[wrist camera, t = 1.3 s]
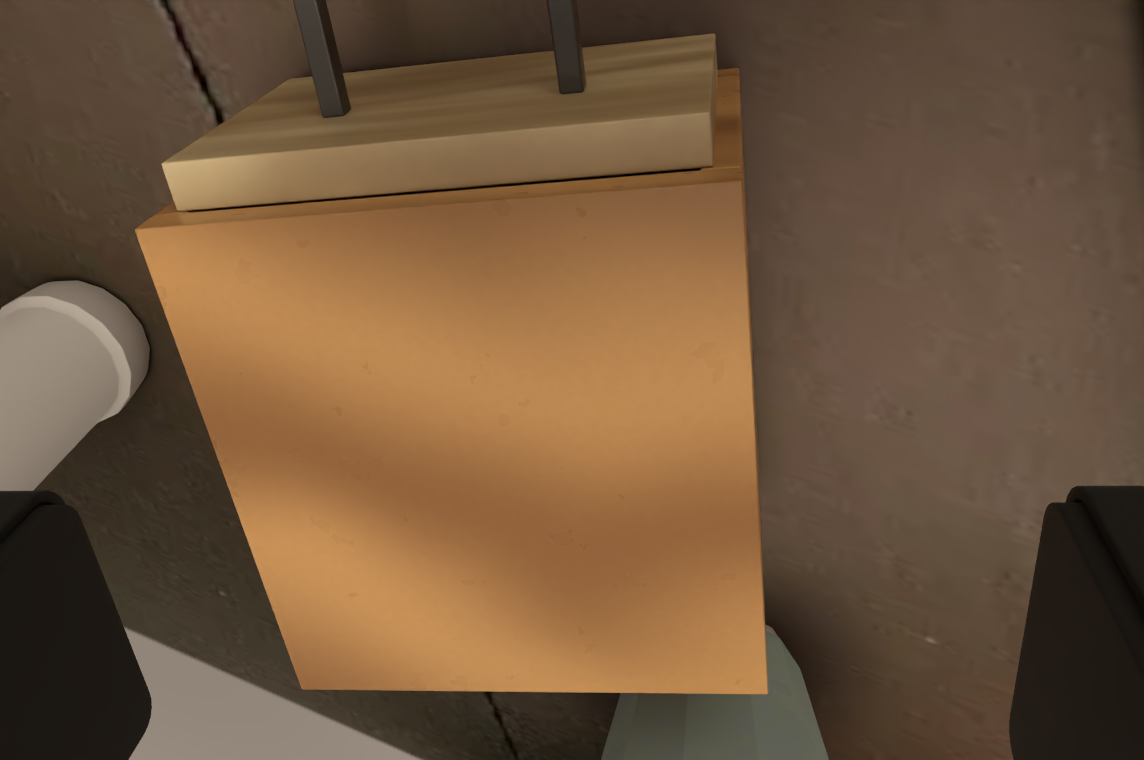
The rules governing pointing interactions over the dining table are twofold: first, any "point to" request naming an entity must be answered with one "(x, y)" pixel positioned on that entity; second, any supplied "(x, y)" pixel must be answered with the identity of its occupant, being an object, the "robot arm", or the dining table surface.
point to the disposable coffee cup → (721, 721)
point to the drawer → (459, 122)
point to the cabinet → (490, 426)
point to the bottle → (62, 374)
